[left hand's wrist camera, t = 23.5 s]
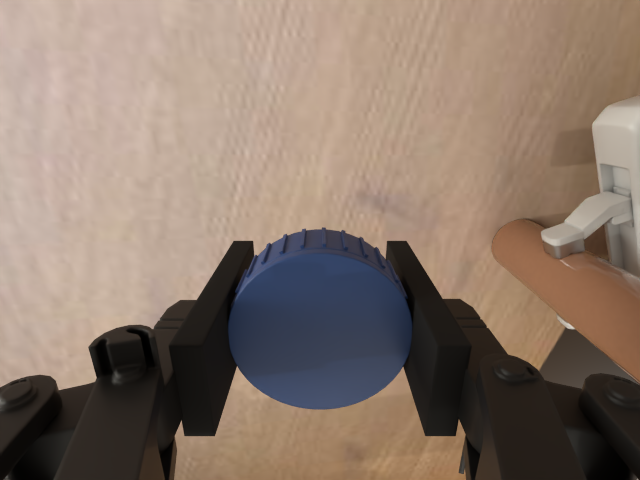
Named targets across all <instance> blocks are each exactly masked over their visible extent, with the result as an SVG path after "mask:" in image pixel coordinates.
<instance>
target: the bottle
mask: <svg viewBox="0 0 640 480" xmlns="http://www.w3.org/2000/svg"><path fill="white" fill-rule="evenodd" d="M545 229H547V228H545V227H543V226H541V225H539V224H537V223H535V222H533V221H531V220H526V219H521V220H515V221H512V222H510V223H508V224H506V225H505V226H503V227H502V228H501V229H500V230H499V231H498V232H497V234H496V235H495V237H494V239H493V243H492V253H493V256H494V258H495V260H496V261H497V262H498V263H499V264H501V265H502V266H503V267H504V268H505V269H506V270H507V271H509V272H510V273H511V274H512V275H513V276H514V277H516V278H517V279H518V280H519V281H520V282H521V283H523V284H524V285H525V286H526V287H527V288H528V289H530V290H531V291H532V292H533V293H534V294H535V295H536V296H538V297H539V298H540V299H541V300H542V301H543V302H545V303H546V304H547V305H548V306H549V307H550V308H552V309H553V310H554V311H555V312H556V313H557V314H559V315H560V316H561V317H562V318H563V319H564V320H565V321H567V322H568V323H569V324H570V325H571V326H572V327H574V328H575V329H576V330H577V331H578V332H579V333H581V334H582V335H583V336H584V337H585V338H586V339H588V340H589V341H590V342H591V343H592V344H593V345H595V346H596V347H597V348H598V349H599V350H600V351H601V352H603V353H604V354H605V355H606V356H607V357H608V358H610V359H611V360H612V361H613V362H614V363H615V364H617V365H618V366H619V367H620V368H621V369H622V370H624V371H625V372H626V373H627V374H628V375H629V376H631V377H632V378H633V379H634V380H635V381H636V382H637V383H639V384H640V278H639V277H637V276H635V275H633V274H631V273H629V272H627V271H626V270H624V269H622V268H620V267H618V266H616V265H614V264H612V263H611V262H609V261H607V260H605V259H603V258H601V257H599V256H597V255H596V254H594V253H592V252H590V251H588V250H586V249H585V251H583V252H580V253H577V254H570V255H569V256H567V257H565V258H559V259H557V258H553V257H552V256H551V255H550V254H549V253H548V254H547V253H546V252H544V247H543V242H542V236H541V231H543V230H545Z"/></svg>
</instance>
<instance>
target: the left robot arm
mask: <svg viewBox="0 0 640 480" xmlns="http://www.w3.org/2000/svg"><path fill="white" fill-rule="evenodd" d="M253 258H254V247H253V241H234V242H233V243H232V245H231V246H230V248H229V250H228V251H227V253H226V254H225V256H224V258H223V259H222V261H221V262H220V264H219V266H218V267H217V269H216V270H215V272H214V274H213V275H212V277H211V278H210V280H209V282H208V283H207V285H206V286H205V288H204V289H203V291H202V293H201V294H200V296H199V297H198V299H197V300H180V301H178V302H177V303H175V304H174V305H172V306H171V307H169V308H168V309H167V310H166V312H165V313H164V314H163V316H162V317H161V318H160V321H158V322H157V324H156V325H155V326H154V329H151V328H150V327H148V326H143V325H128V326H124V327H119V328H116V329H113V330H111V331H108V332H106V333H104V334H102V335H101V336H100V337H98V338H97V339H95V340H94V341H93V342H92V343H91V345H90V346H89V351H90V355H91V358H92V362H93V366H94V369H95V373H96V376H97V379H96V381H95V382H93V383H90V384H86V385H82V386H77V387H72V388H68V389H63V390H58V387H57V384H56V381H55V380H54V379H53V378H52V377H50V376H45V375H35V376H28V377H24V378H20V379H17V380H15V381H12V382H10V383H8V384H6V385H4V386H2V387H0V480H174V473H175V464H176V455H177V447H176V441H175V434H176V431H177V429H178V427H179V425H180V422H181V420H182V424H183V430H184V436H215V434H216V431H217V428H218V424H219V421H220V418H221V415H222V412H223V409H224V405H225V402H226V399H227V396H228V393H229V390H230V386H231V383H232V380H233V377H234V374H235V371H236V367H237V365H236V363H235V361H234V358H233V356H232V354H231V351H230V345H229V335H228V320H229V315H230V311H231V309H230V306H231V304H232V302H233V300H234V297H235V295H236V293H235V291H236V289H237V287H238V285H239V282H240V280H241V278H242V276H243V274H244V271H245V269H247V270H248V269H249V267H250V265H251V263H252V260H253ZM387 260H389V261H390V262H391V264H392V267H393V269H394V271H395V273H396V275H398V277H399V279H400V281H401V283H402V286H403V288H404V290H405V292H406V295H407V297H408V299H406V302H407V304H408V307H409V310H410V312H411V317H412V322H413V328H412V338H411V347H410V352H409V355H408V358H407V360H406V362H405V364H404V366H403V367H404V370H405V373H406V376H407V379H408V383H409V386H410V389H411V392H412V395H413V398H414V402H415V405H416V408H417V411H418V414H419V417H420V421H421V424H422V427H423V430H424V433H425V436H456V431H457V426H458V420H460V422H461V424H462V427H463V429H464V431H465V434H466V436H465V441H464V446H463V451H462V457H461V462H460V468H459V473H461V474H464V470H465V472H466V480H636V479H637V478H638V479H639V480H640V385H638V384H636V383H634V382H632V381H630V380H628V379H625V378H621V377H619V376H615V375H609V374H602V373H600V374H593V375H590V376H589V377H587V378H586V379H585V381H584V384H583V388H582V389H580V388H575V387H570V386H566V385H561V384H557V383H552V382H549V381H545V380H544V378H543V377H542V375H541V374H540V372H539V371H538V370H537V369H536V368H535V367H533V366H532V365H531V364H530V363H528V362H526V361H524V360H522V359H520V358H518V357H515V356H511V355H508V354H507V353H506V351H505V350H504V349H503V347H502V346H501V345H500V343H499V342H498V341H497V339H496V338H495V336H494V335H493V334H492V332H491V331H490V330H489V328H487V326H486V324H485V323H484V322H483V320H481V319H480V316H479V315H478V314H477V312H476V311H475V310H474V308H473V307H471V306H470V305H468V304H467V303H465V302H464V301H462V300H461V299H442V297H441V296H440V294H439V292H438V291H437V289H436V288H435V286H434V284H433V283H432V281H431V280H430V278H429V276H428V275H427V273H426V272H425V270H424V268H423V267H422V265H421V264H420V262H419V260H418V259H417V257H416V256H415V254H414V252H413V251H412V249H411V248H410V246H409V244H408V243H407V241H387V250H386V261H387Z"/></svg>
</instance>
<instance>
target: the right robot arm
mask: <svg viewBox="0 0 640 480" xmlns="http://www.w3.org/2000/svg"><path fill="white" fill-rule="evenodd" d="M592 134H593V141H594V149H595V156H596V164H597V172H598V180H599V188H600V193H599V194H596V195H594V196H591V197H588V198H586V199H585V200H584V201H583V202H582V203H581V204H580V205H579V206H578V207H577V208H576V209H575V210H574V211H573V212H572V213H571V214H570V215H569V216H568V217H567V218H566V220H565V221H564V223H561V224H559V225H556V226H553V227H550V228H547V229H545V230H543V231H541V236H542V242H543V247H544V252H546V253H547V254H548V253H549V254H550V255H551V256H552V257H553V258H557V259H559V258H565V257H567V256H569V255H570V254H577V253H580V252H583V251H585V245H584V240H585V239H586V238H587V237H589V236H590V235H591V234H592V233H593V232H595V231H596V230H597V229H598V228H599V227H601V226H602V225H603V224H604V227H605V235H606V243H607V251H608V259H609V262H611V263H612V264H614V265H616V266H618V267H620V268H622V269H624V270H626V271H627V272H629V273H631V274H633V275H635V276H637V277H639V278H640V95H638V96H634V97H631V98H628V99H625V100H622V101H619V102H616V103H613V104H611V105H608V106H607V107H606V108H605V109H604V110H603V111H602V112H601V113H600V115H599V116H598V117H597V118H596V120H595V121H594V122H593V124H592ZM556 315H557V319H558V321H560V322H561V323H562V324H563V325H564V326H565V327H566V328H569V329H575V328H574V327H572V326H571V325H570V324H569V323H568V322H567V321H565V320H564V319H563V318H562V317H561V316H560V315H559V314H557V313H556Z"/></svg>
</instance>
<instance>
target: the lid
mask: <svg viewBox="0 0 640 480" xmlns="http://www.w3.org/2000/svg"><path fill="white" fill-rule="evenodd" d="M235 293H236V295H235V297H234V300H233V302H232V304H231V306H230V309H231V311H230V315H229V320H228V335H229V345H230V351H231V354H232V356H233V358H234V361H235V363H236V365H237V366H238V368H239V370H240V371H241V372H242V374H243V375H244V376H245V377H246V379H247V380H248V381H249V382H250V383H251V384H252V385H253V386H255V387H256V388H257V389H259V390H260V391H261V392H263V393H264V394H266V395H268V396H269V397H271V398H273V399H275V400H277V401H280V402H282V403H285V404H288V405H291V406H295V407H300V408H307V409H335V408H340V407H345V406H349V405H352V404H356V403H358V402H361V401H363V400H365V399H368V398H369V397H371V396H373V395H375V394H376V393H378V392H379V391H381V390H382V389H383V388H385V387H386V386H387V385H388V384H389V383H390V382H391V381H392V380H393V379H394V378H395V377H396V376H397V374H398V373H399V372H400V370H401V369H402V367H403V366H404V364H405V362H406V360H407V358H408V355H409V352H410V347H411V338H412V328H413V322H412V317H411V312H410V310H409V307H408V304H407V302H406V299H408V297H407V295H406V292H405V290H404V288H403V286H402V283H401V281H400V279H399V277H398V275H396V273H395V271H394V269H393V267H392V264H391V262H390V261H389V260H387V261H386V259H385V258H384V257H383V256H382V255H381V254H380V251H379V249H378V248H377V247H375V248H373V247H372V246H371V245H370V244H368V243H366V242H365V241H364V239H363V238H362V237H360V238H357V237H355V236H352V235H350V234H347V233H345V231H344V230H342V231H341V232H339V231H333V230H326V228H322V230H307V231H306V229H302V232H297V233H293V234H291V235H287V234H285V235H284V236H283V238H281V239H279V240H278V241H276V242H274V243H272V244H270V243H269V244H267V246H266V249H264V250H263V251H262V252H261V253H260V254H259V255H258V256H257V255H255V256H254V258H253V260H252V263H251V265H250V267H249V269H248V270H247V269H245V271H244V274H243V276H242V278H241V280H240V282H239V285H238V287H237V289H236V291H235Z"/></svg>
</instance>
